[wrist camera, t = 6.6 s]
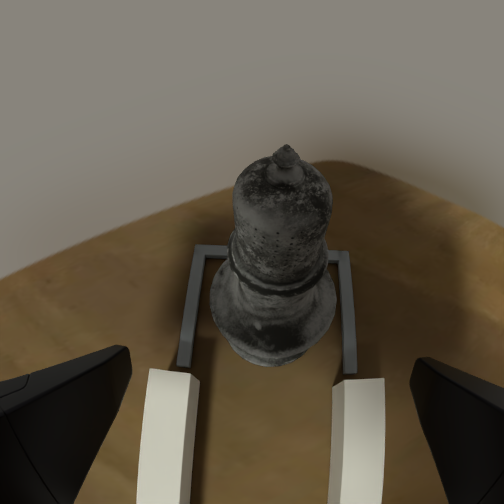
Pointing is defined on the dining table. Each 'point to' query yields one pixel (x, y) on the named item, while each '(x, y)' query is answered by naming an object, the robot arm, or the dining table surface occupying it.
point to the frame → (221, 252)
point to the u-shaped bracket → (183, 436)
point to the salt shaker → (276, 262)
